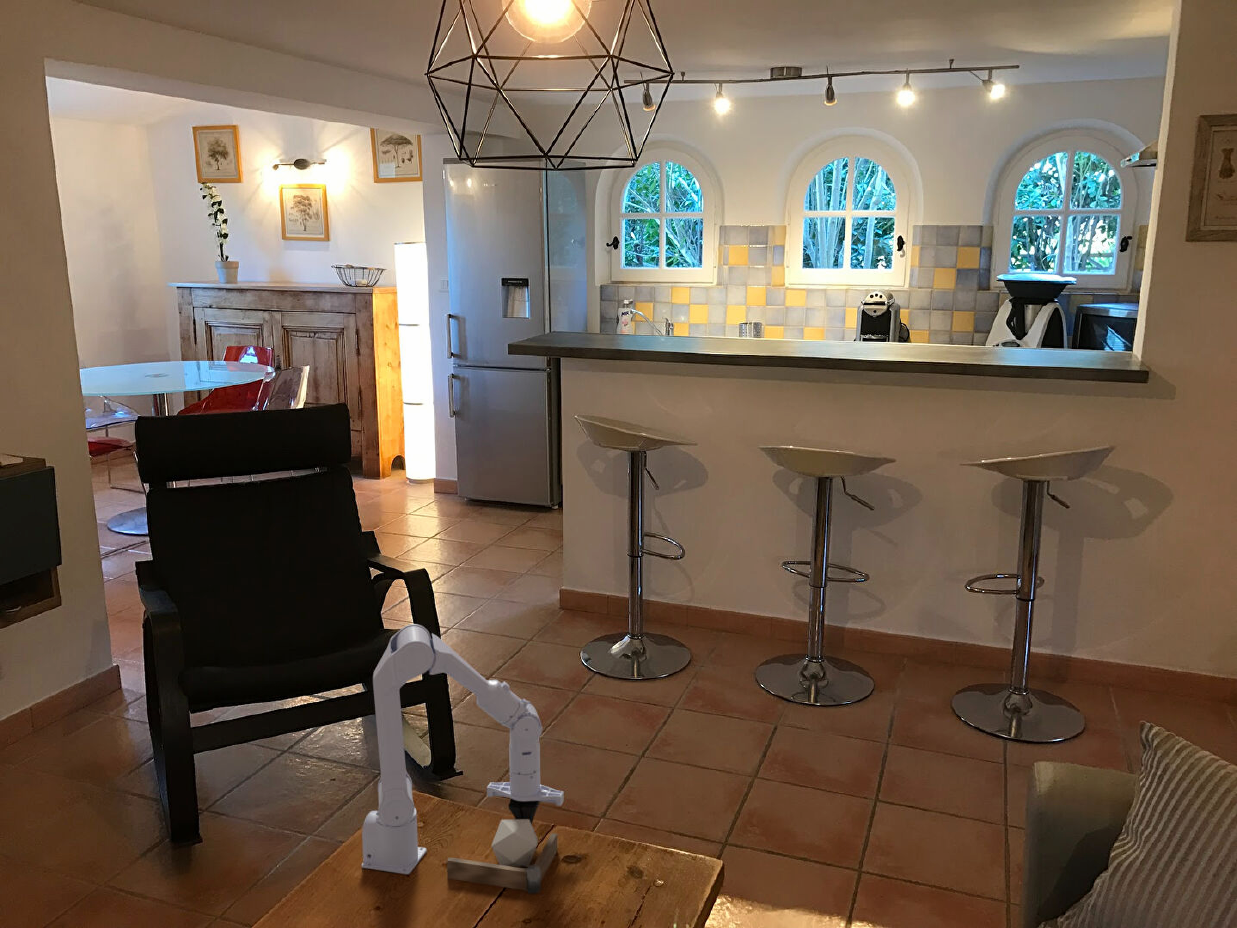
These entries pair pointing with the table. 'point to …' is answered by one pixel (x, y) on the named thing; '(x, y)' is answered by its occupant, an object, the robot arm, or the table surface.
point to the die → (514, 842)
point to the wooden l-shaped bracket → (505, 870)
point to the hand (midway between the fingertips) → (525, 833)
